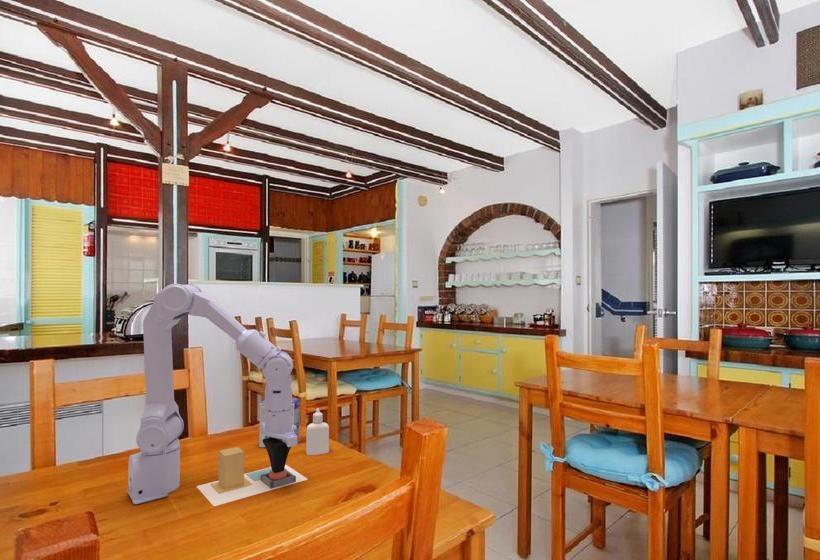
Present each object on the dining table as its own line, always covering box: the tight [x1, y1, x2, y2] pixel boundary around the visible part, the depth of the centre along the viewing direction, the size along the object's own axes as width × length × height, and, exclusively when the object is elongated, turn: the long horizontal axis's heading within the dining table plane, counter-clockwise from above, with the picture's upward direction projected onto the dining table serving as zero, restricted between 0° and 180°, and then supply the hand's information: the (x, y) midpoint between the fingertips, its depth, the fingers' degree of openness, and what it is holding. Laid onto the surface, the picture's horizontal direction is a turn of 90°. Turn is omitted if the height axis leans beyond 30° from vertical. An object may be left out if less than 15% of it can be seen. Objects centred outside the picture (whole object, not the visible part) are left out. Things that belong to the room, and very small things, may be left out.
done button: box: [269, 468, 287, 481], centre depth 102 cm, size 4×4×2 cm
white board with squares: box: [196, 463, 308, 507], centre depth 101 cm, size 20×12×2 cm, turn 130°
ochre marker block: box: [218, 446, 245, 490], centre depth 100 cm, size 4×4×7 cm
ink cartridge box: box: [258, 398, 300, 448], centre depth 128 cm, size 10×6×14 cm, turn 89°
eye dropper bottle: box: [305, 407, 330, 456], centre depth 120 cm, size 4×6×12 cm
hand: (278, 471), depth 102 cm, fingers closed, pressing on done button
